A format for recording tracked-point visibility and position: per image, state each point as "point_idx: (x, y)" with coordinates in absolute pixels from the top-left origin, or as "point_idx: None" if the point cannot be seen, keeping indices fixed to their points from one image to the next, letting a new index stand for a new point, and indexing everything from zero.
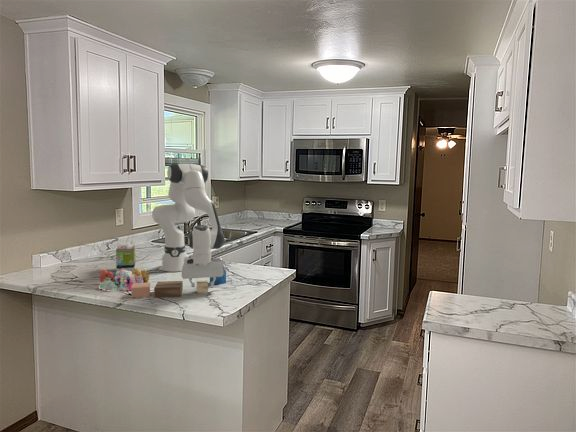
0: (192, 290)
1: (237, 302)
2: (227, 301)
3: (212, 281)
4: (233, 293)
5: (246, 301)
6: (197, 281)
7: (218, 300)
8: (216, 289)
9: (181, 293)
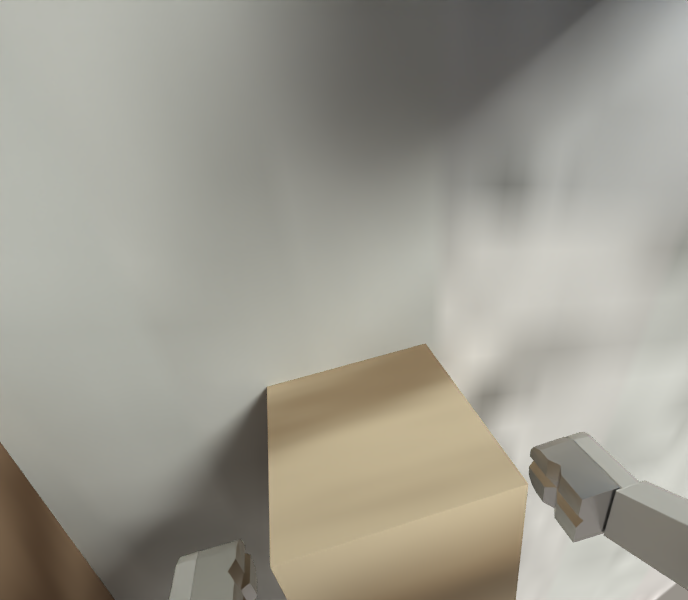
0: (182, 390)
1: (624, 589)
2: (569, 591)
3: (618, 498)
4: (684, 435)
5: None
6: (297, 592)
7: None
8: (558, 312)
9: (70, 547)
